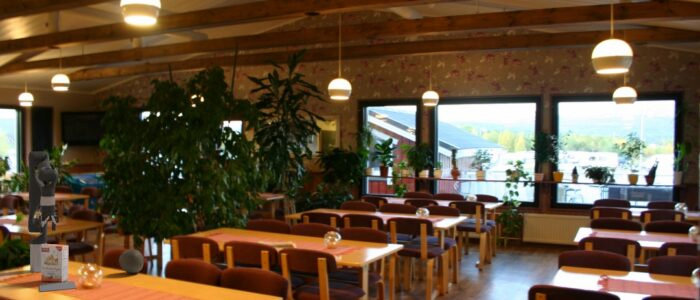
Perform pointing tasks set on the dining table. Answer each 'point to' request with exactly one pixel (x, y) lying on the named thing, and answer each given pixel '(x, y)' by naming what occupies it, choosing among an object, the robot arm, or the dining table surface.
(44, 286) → the mat
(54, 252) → the cracker box
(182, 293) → the dining table surface
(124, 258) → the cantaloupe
